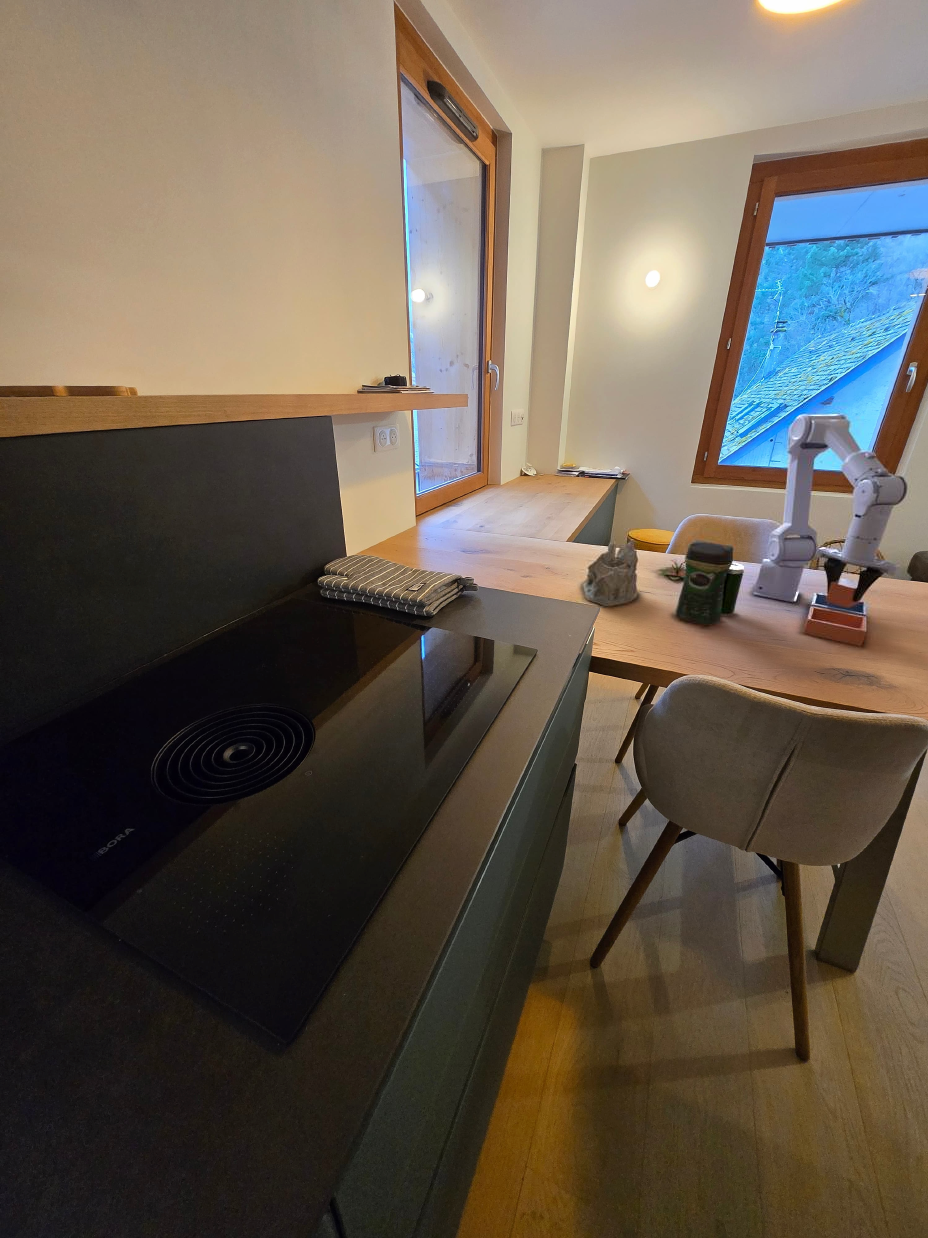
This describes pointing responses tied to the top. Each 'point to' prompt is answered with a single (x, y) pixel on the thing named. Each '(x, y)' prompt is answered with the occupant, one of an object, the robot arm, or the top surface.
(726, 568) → the coffee jar
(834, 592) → the terracotta block
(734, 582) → the beer can
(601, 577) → the grey jagged hollow piece
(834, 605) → the blue block
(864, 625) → the terracotta bin
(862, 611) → the blue bin
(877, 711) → the top surface
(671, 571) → the lily flower
